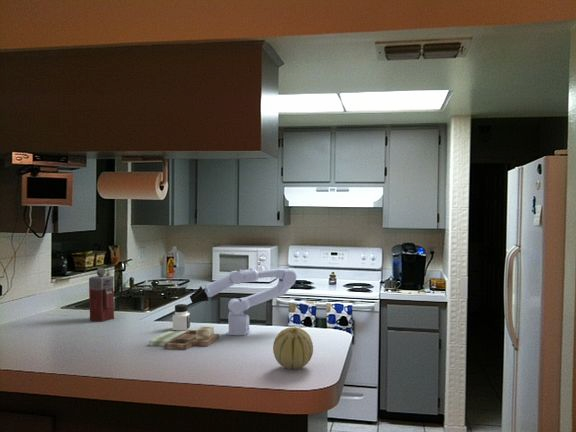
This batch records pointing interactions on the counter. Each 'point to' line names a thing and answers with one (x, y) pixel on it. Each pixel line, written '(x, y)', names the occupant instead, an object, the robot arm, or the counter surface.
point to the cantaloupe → (293, 348)
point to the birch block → (204, 332)
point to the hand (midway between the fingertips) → (191, 300)
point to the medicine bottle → (181, 317)
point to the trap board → (181, 340)
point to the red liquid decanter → (101, 297)
